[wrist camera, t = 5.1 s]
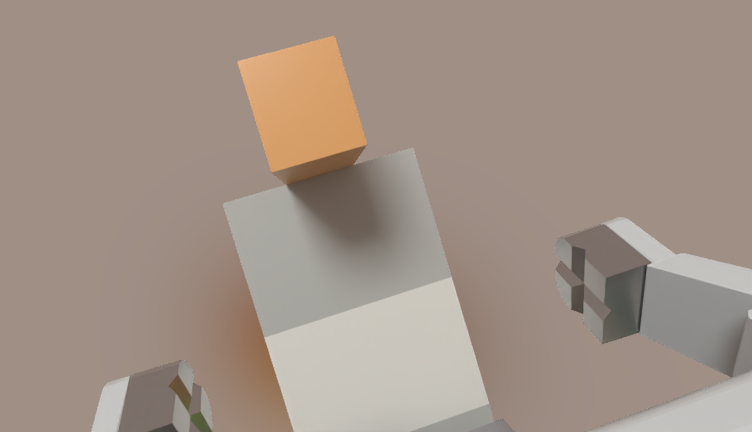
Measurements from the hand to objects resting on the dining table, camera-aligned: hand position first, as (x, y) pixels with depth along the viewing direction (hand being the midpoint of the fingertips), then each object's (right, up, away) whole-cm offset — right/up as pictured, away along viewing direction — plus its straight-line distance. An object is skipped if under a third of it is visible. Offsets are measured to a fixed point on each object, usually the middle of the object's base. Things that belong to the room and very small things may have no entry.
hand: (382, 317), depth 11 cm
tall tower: (+4, -23, +22) cm, 32 cm away
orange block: (-3, +4, +17) cm, 18 cm away
